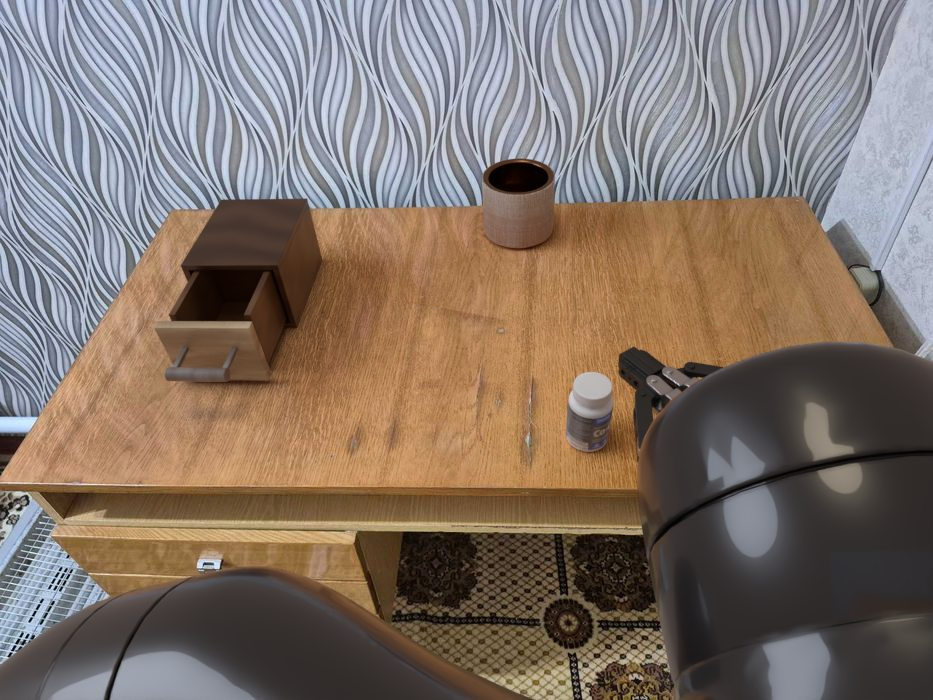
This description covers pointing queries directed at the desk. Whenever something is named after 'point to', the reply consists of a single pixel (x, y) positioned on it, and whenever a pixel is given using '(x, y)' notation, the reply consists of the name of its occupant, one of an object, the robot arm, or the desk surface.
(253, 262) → the cabinet
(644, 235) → the desk surface
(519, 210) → the planter
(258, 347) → the drawer
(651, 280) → the desk surface
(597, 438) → the pill bottle
